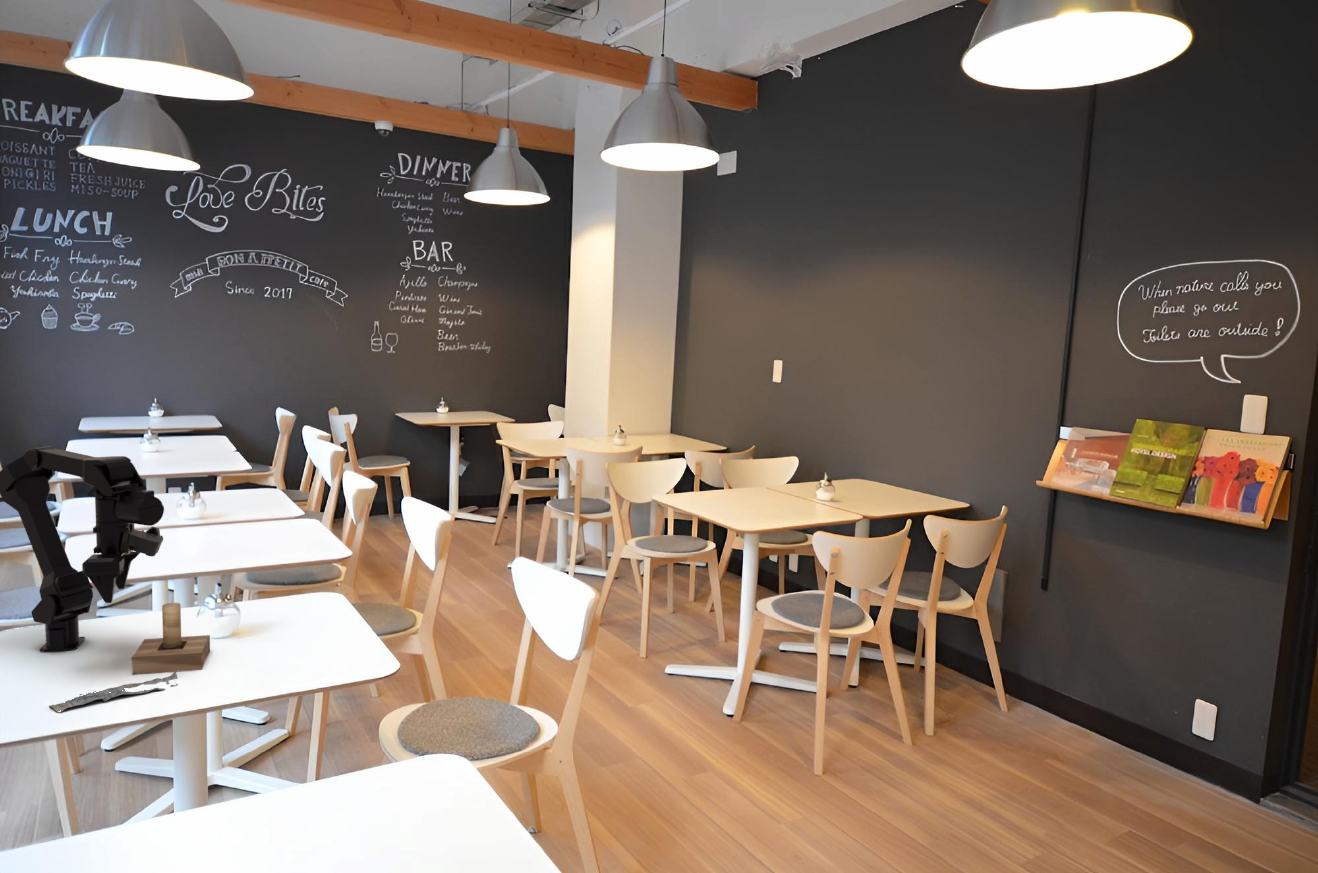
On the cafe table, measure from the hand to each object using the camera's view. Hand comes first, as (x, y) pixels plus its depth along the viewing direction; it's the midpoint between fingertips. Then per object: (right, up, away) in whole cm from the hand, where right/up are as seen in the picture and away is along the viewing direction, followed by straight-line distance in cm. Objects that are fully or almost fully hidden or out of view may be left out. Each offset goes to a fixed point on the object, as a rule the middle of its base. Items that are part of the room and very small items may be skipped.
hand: (115, 595), depth 173 cm
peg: (+11, -14, 0) cm, 18 cm away
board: (+11, -14, 0) cm, 18 cm away
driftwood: (+10, -16, -15) cm, 24 cm away
